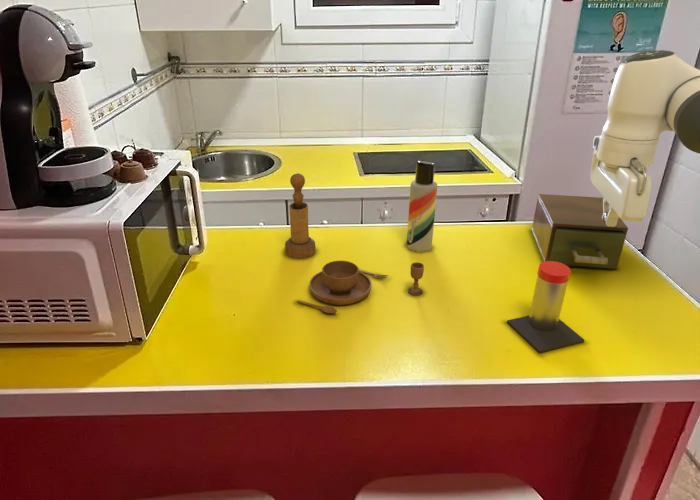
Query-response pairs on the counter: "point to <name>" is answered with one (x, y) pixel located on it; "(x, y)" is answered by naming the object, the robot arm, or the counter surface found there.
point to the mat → (545, 335)
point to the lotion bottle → (422, 208)
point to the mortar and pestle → (299, 223)
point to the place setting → (349, 284)
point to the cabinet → (568, 219)
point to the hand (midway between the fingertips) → (608, 223)
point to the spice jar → (548, 295)
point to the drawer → (587, 247)
